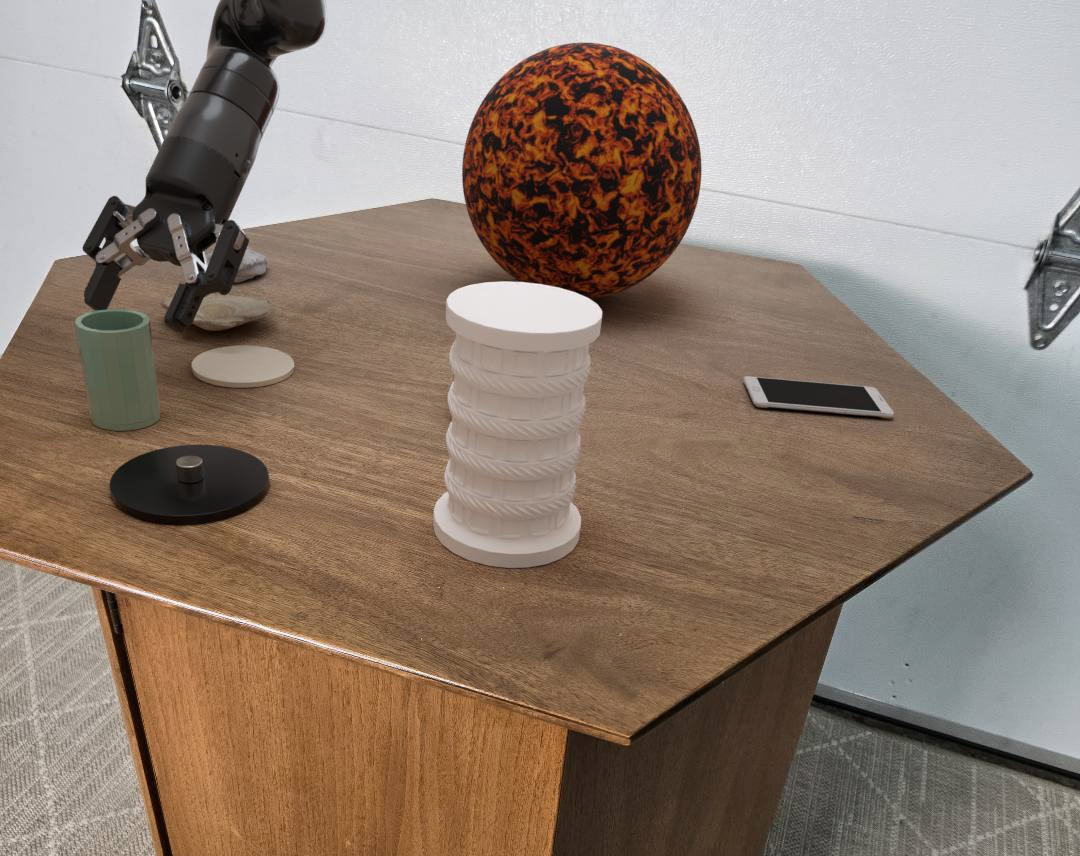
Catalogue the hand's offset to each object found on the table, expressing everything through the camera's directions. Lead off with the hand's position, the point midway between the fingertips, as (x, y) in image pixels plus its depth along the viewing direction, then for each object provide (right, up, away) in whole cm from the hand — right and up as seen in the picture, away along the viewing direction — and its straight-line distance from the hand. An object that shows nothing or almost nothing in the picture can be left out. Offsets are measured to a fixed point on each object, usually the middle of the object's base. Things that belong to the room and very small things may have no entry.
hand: (132, 317), depth 85 cm
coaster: (+5, -2, +14) cm, 15 cm away
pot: (-2, -8, +2) cm, 9 cm away
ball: (+39, +13, +45) cm, 61 cm away
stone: (-4, +14, +40) cm, 43 cm away
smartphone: (+65, -4, +20) cm, 68 cm away
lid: (+8, -15, -7) cm, 18 cm away
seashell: (0, +4, +24) cm, 24 cm away
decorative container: (+33, -19, -8) cm, 39 cm away
